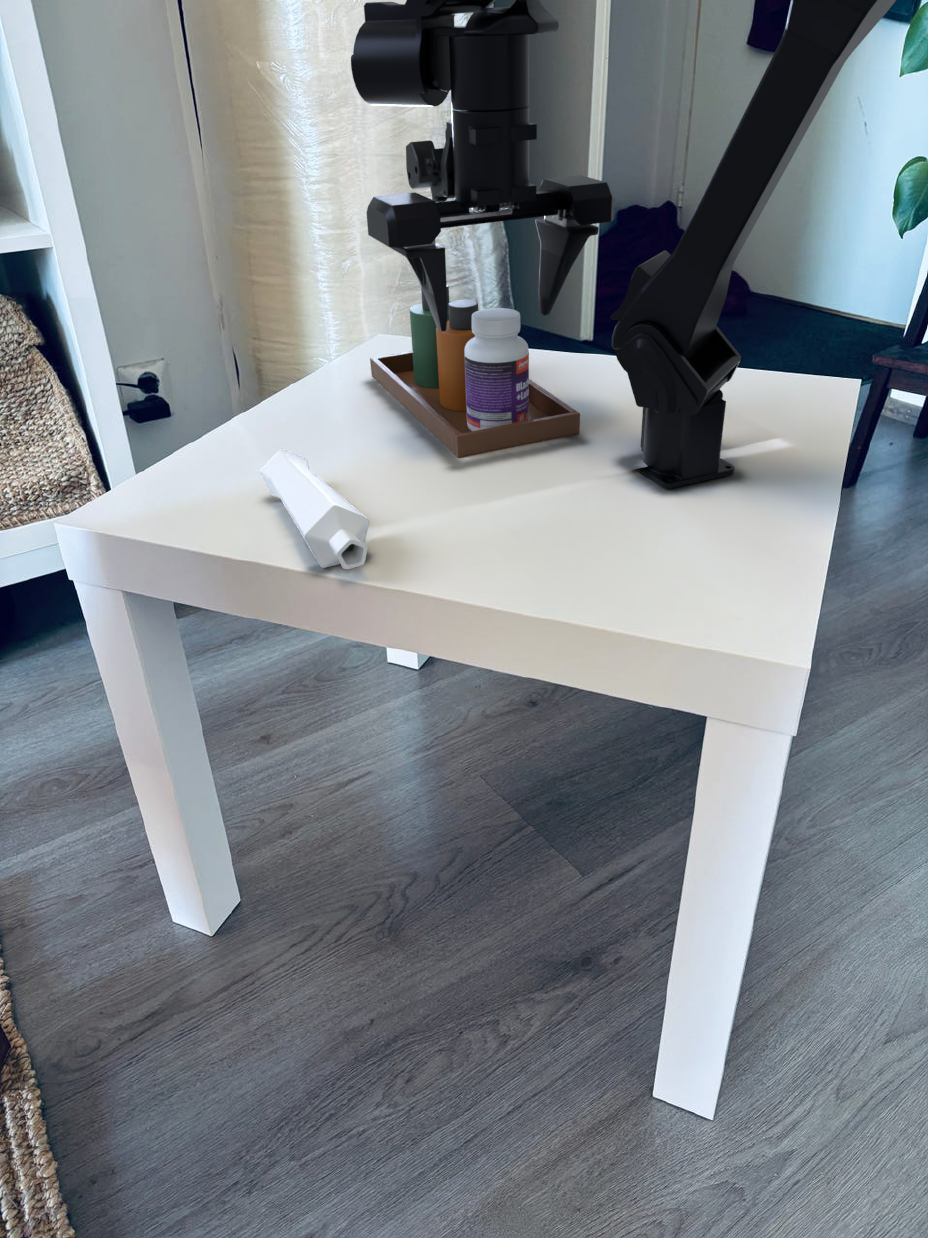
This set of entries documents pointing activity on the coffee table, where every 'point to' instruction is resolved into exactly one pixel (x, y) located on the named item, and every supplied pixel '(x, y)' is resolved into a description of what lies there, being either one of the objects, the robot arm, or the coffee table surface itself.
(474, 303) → the amber bottle
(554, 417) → the tray
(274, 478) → the perfume bottle
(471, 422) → the pill bottle
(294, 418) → the coffee table surface
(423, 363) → the green bottle
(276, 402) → the coffee table surface
